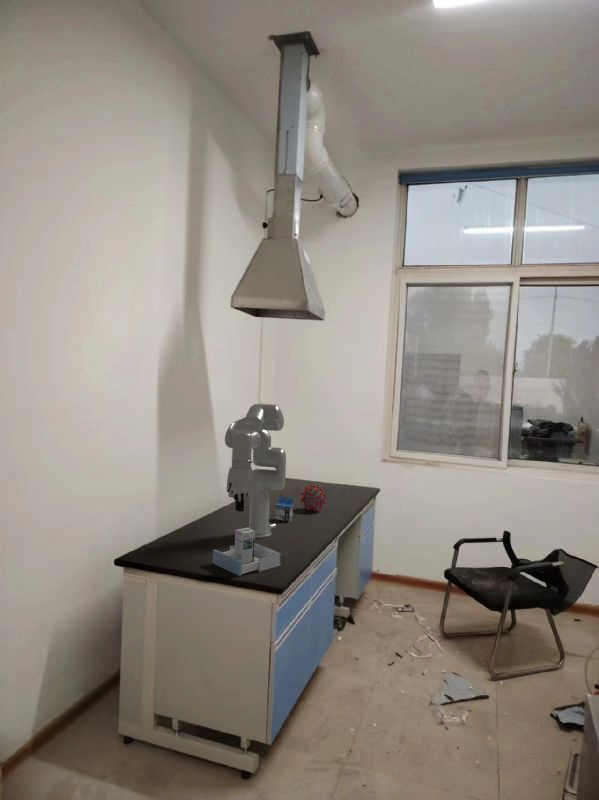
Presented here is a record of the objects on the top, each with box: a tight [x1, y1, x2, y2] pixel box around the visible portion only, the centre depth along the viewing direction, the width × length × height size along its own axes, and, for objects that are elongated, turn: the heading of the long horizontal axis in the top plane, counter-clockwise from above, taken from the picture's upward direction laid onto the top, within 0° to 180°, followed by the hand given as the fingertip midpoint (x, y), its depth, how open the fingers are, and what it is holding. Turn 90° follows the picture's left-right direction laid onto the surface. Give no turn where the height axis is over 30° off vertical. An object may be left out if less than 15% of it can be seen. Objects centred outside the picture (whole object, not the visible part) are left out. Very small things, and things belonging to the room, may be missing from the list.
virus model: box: [300, 484, 327, 512], centre depth 297 cm, size 14×15×15 cm
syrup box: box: [234, 527, 256, 566], centre depth 200 cm, size 6×6×14 cm
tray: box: [212, 549, 259, 577], centre depth 202 cm, size 11×17×5 cm, turn 45°
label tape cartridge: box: [274, 495, 294, 523], centre depth 273 cm, size 9×4×12 cm, turn 62°
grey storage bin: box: [229, 542, 282, 573], centre depth 209 cm, size 11×19×5 cm, turn 45°
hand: (239, 510), depth 199 cm, fingers closed
